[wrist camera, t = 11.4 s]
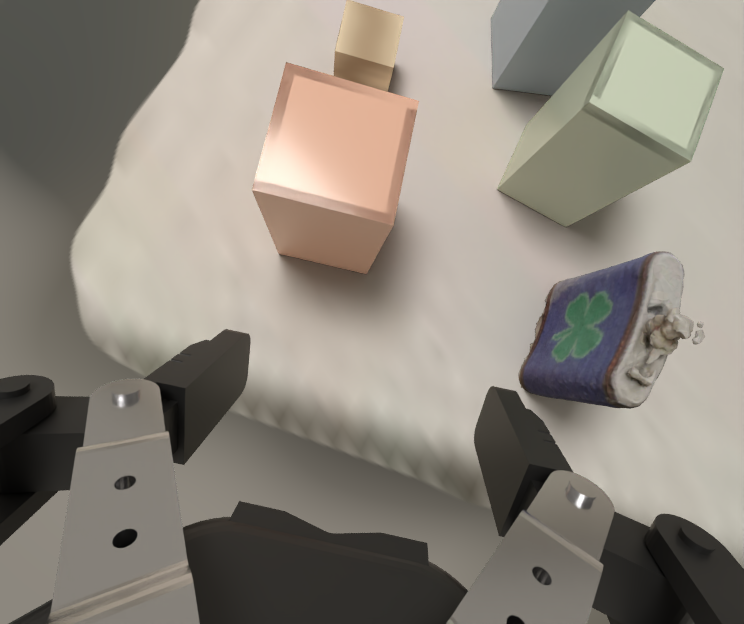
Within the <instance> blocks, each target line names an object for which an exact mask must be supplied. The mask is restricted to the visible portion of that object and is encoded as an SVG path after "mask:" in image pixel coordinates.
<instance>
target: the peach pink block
mask: <svg viewBox="0 0 744 624" xmlns="http://www.w3.org/2000/svg"><path fill="white" fill-rule="evenodd" d="M418 102H419V101H417V100H414V99H410V98H407V97H403V96H400V95H397V94H393V93H390V92H386V91H383V90H379V89H376V88H373V87H369V86H366V85H362V84H359V83H355V82H352V81H349V80H345V79H342V78H338V77H335V76H332V75H328V74H325V73H321V72H318V71H314V70H311V69H308V68H304V67H301V66H297V65H294V64H291V63H287V62H286V65H285V68H284V72H283V76H282V80H281V83H280V87H279V91H278V95H277V98H276V102H275V106H274V109H273V113H272V117H271V121H270V124H269V128H268V132H267V135H266V139H265V143H264V147H263V150H262V154H261V158H260V162H259V165H258V169H257V173H256V176H255V180H254V184H253V188H252V191H253V194H254V196H255V198H256V201H257V203H258V206H259V208H260V210H261V213H262V215H263V218H264V220H265V222H266V225H267V227H268V230H269V232H270V234H271V237H272V239H273V241H274V244H275V246H276V249H277V251H278V253H279V254H282V255H286V256H291V257H295V258H299V259H304V260H308V261H312V262H316V263H321V264H325V265H329V266H334V267H338V268H342V269H346V270H351V271H355V272H359V273H364V274H367V272H368V271H369V269H370V267H371V265H372V263H373V262H374V260H375V258H376V256H377V254H378V252H379V251H380V249H381V247H382V245H383V243H384V242H385V240H386V238H387V236H388V234H389V233H390V231H391V229H392V227H393V225H394V220H395V215H396V210H397V206H398V201H399V196H400V191H401V186H402V181H403V176H404V171H405V166H406V161H407V156H408V152H409V147H410V142H411V137H412V132H413V127H414V122H415V117H416V112H417V107H418Z"/></svg>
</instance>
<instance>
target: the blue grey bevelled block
mask: <svg viewBox="0 0 744 624" xmlns="http://www.w3.org/2000/svg"><path fill="white" fill-rule="evenodd" d="M654 1H655V0H500V2H499V4H498V6H497V8H496V10H495V12H494V14H493V15H492V17H491V40H492V83H493V88H495V89H503V90H511V91H519V92H527V93H535V94H543V95H551V96H553V94H554V93H555V92H556V91H557V90H558V89H559V88H560V87H561V85H562V84H563V83H564V82H565V81H566V80H567V79H568V78H569V76H570V75H571V74H572V73H573V72H574V71H575V70H576V69H577V67H578V66H579V65H580V64H581V63H582V62H583V61H584V60H585V58H586V57H587V56H588V55H589V54H590V53H591V52H592V51H593V49H594V48H595V47H596V46H597V45H598V44H599V43H600V42H601V40H602V39H603V38H604V37H605V36H606V35H607V34H608V33H609V31H610V30H611V29H612V28H613V27H614V26H615V25H616V23H617V22H618V21H619V20H620V19H621V18H622V17H623V16H624V14H625V13H626V12H627V11H628V10H629V11H630V12H632V13H634V14H635V15H637V16H639V17H640V16H641V15H642V14H643V13H644V12H645V11H646V10H647V9H648V8H649V7H650V6H651V4H652V3H653V2H654Z"/></svg>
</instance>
